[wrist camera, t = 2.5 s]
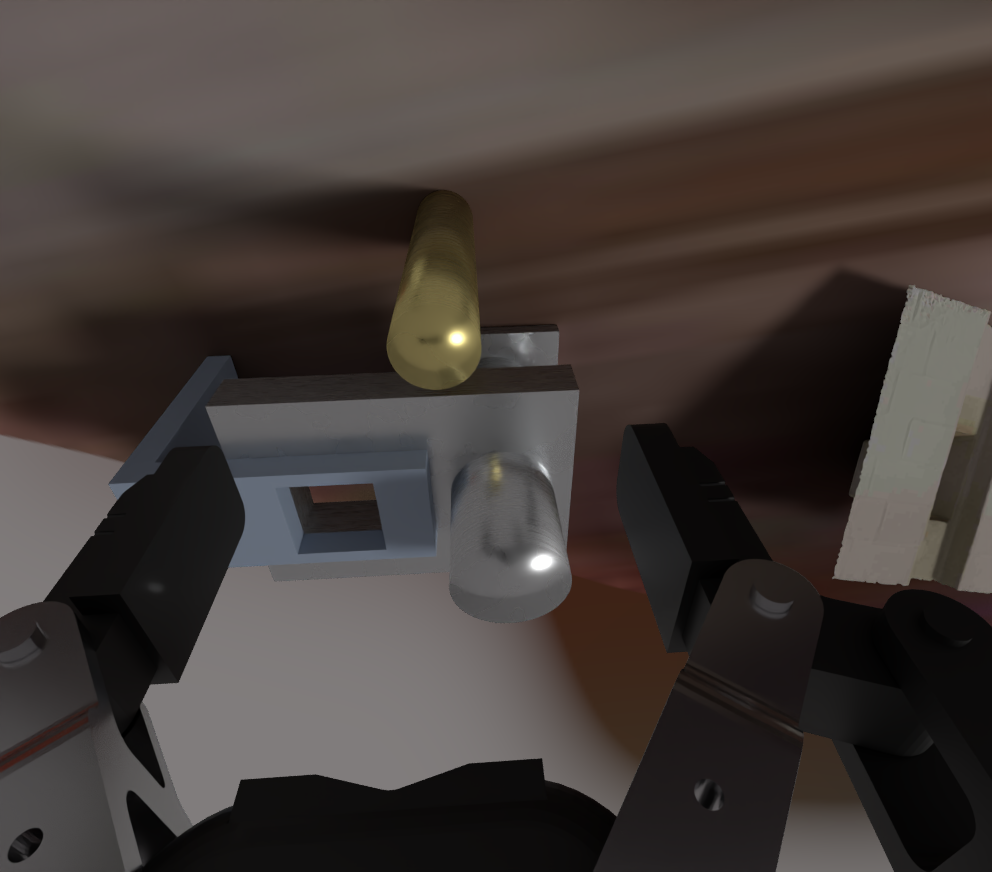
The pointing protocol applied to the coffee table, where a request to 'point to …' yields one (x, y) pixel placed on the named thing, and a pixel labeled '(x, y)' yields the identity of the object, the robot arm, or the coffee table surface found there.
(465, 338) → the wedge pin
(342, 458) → the bracket
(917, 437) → the white slotted block
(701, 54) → the coffee table surface
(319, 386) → the grey piece
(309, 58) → the coffee table surface
